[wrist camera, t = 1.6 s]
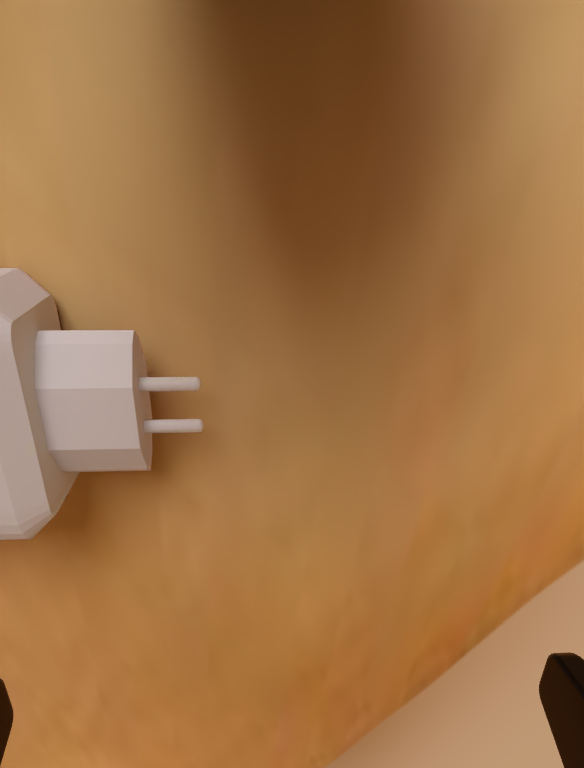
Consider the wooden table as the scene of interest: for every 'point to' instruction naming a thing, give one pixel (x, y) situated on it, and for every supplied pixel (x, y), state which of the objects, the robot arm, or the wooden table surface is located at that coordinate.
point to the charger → (68, 405)
